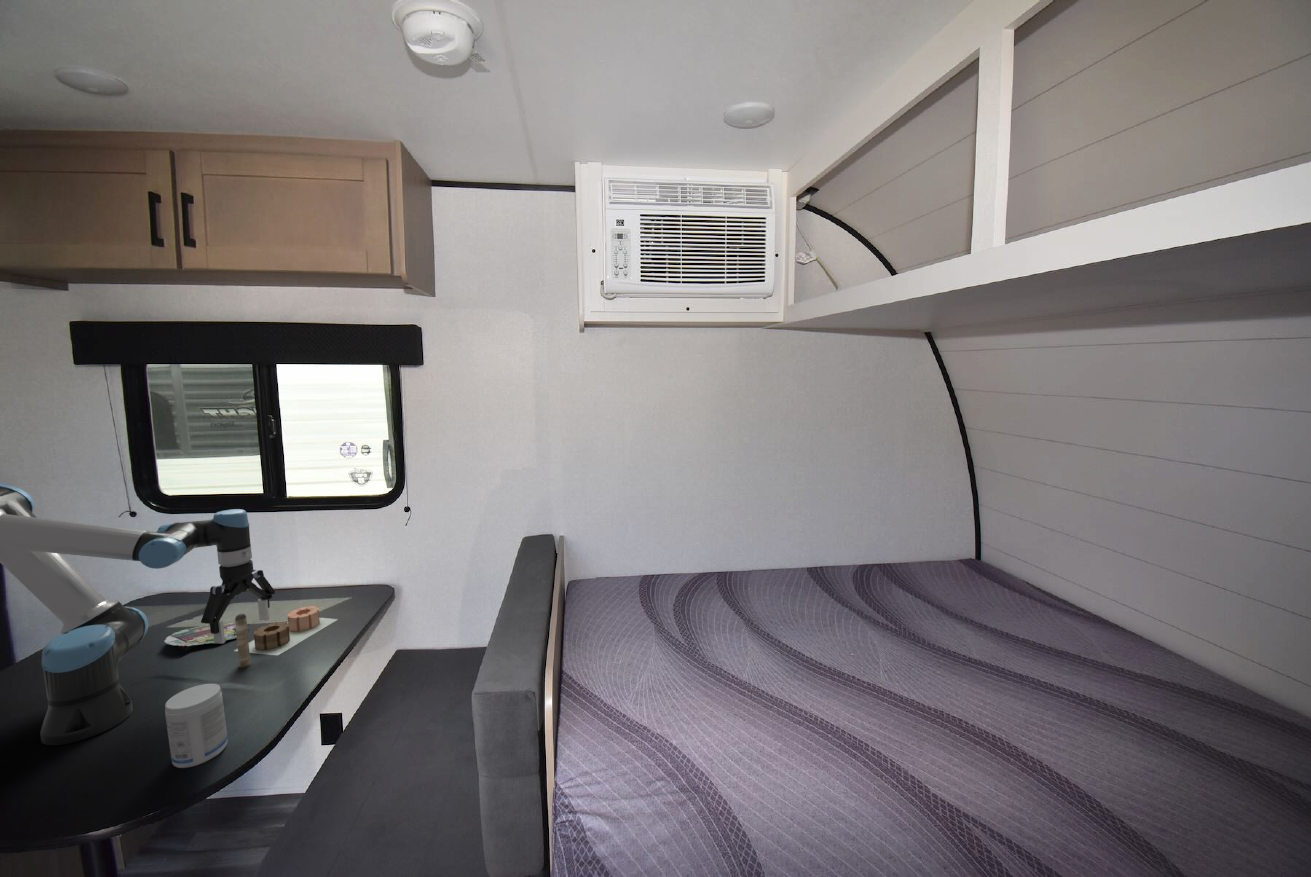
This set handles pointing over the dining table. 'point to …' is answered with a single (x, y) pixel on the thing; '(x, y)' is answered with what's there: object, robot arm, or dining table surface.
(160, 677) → the dining table surface
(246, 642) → the wooden dowel rod
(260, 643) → the walnut bead
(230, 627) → the city model
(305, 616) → the terracotta bead
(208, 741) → the supplement tub
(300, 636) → the board
